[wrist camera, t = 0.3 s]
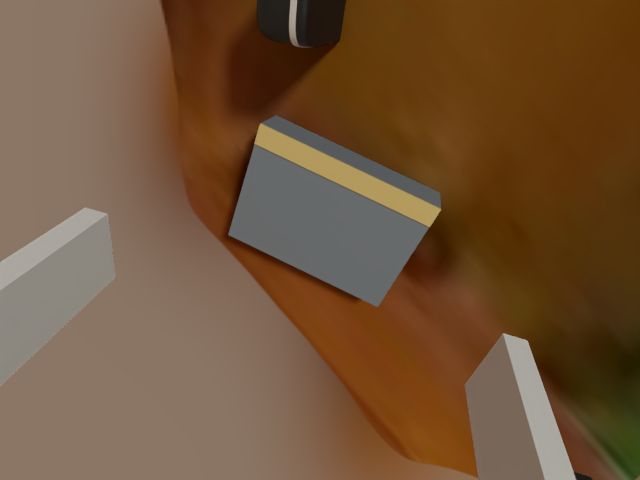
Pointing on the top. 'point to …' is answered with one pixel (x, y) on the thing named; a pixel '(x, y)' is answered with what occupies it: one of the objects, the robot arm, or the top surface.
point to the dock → (330, 210)
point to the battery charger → (301, 21)
